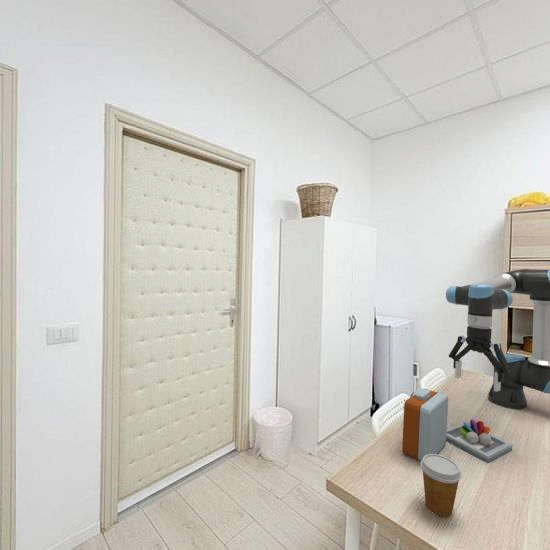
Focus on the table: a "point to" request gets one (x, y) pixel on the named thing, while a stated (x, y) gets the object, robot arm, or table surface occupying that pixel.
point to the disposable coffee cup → (440, 483)
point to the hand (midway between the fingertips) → (476, 383)
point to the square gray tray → (478, 445)
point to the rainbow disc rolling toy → (476, 432)
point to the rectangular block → (424, 423)
